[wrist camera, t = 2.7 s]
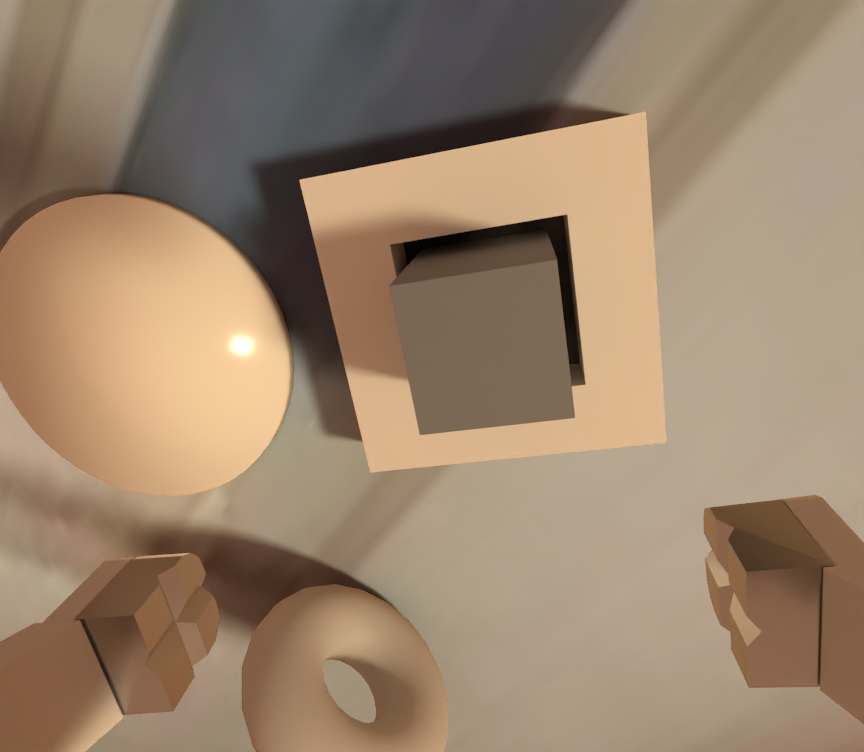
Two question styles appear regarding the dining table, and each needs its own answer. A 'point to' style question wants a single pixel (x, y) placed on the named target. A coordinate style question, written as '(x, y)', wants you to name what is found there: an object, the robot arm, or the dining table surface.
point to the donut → (356, 646)
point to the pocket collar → (489, 207)
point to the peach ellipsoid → (142, 343)
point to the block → (484, 334)
